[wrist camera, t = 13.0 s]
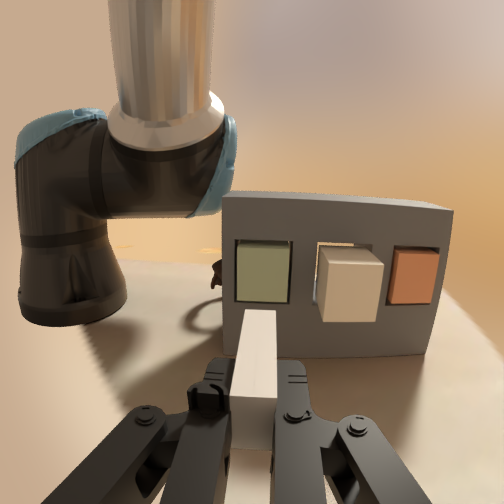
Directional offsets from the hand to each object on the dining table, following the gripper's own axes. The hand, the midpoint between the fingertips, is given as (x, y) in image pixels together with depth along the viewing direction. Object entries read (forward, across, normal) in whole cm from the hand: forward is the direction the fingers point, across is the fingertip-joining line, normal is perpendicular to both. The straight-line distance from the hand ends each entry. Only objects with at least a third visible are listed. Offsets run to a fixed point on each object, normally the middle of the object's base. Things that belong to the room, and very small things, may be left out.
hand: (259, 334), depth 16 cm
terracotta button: (+12, +13, -2) cm, 18 cm away
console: (+13, +6, -8) cm, 17 cm away
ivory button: (+9, +6, -3) cm, 11 cm away
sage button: (+12, 0, -3) cm, 13 cm away
